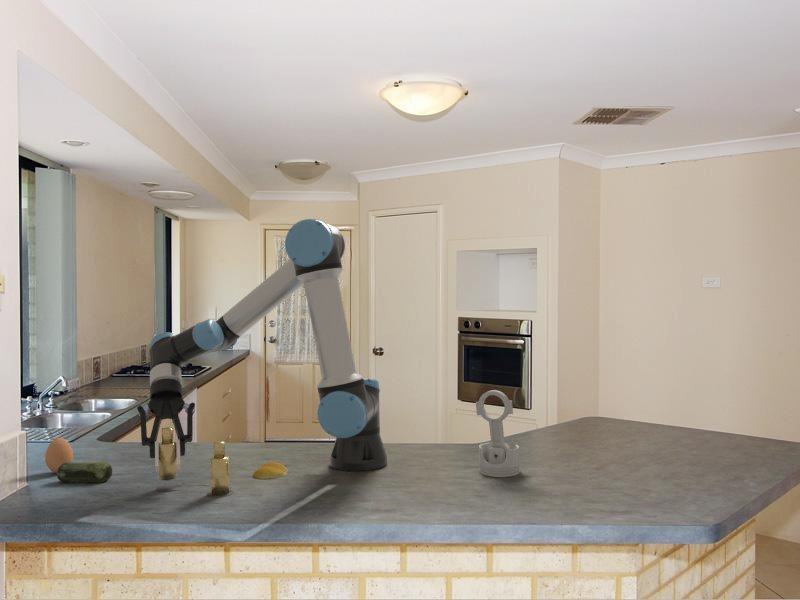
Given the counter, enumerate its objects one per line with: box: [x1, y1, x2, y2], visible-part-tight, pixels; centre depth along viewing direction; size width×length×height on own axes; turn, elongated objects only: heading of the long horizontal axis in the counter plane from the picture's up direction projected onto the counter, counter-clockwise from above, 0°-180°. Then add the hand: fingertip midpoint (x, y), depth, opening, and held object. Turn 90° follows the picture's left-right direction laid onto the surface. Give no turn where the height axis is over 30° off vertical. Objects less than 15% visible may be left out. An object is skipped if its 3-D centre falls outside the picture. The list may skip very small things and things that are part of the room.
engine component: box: [475, 389, 520, 478], centre depth 173 cm, size 11×20×10 cm
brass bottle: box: [158, 426, 178, 481], centre depth 159 cm, size 4×4×12 cm
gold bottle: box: [209, 440, 231, 496], centre depth 154 cm, size 4×4×12 cm
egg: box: [44, 437, 74, 474], centre depth 181 cm, size 7×7×9 cm
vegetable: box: [56, 460, 113, 484], centre depth 172 cm, size 14×5×5 cm, turn 89°
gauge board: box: [155, 482, 235, 498], centre depth 156 cm, size 24×12×1 cm, turn 69°
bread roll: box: [252, 461, 289, 480], centre depth 170 cm, size 8×9×4 cm
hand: (168, 467), depth 155 cm, fingers closed on brass bottle, 4 cm apart
